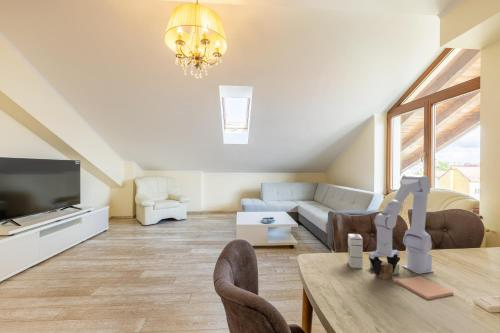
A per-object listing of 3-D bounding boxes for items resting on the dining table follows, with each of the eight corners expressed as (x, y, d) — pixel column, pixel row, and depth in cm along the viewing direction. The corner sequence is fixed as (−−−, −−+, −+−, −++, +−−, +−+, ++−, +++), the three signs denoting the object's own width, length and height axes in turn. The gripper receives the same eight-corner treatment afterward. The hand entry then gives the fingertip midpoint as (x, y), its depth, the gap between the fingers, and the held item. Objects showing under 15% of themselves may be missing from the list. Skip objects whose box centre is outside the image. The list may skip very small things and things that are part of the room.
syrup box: (363, 268, 109) (363, 237, 109) (349, 267, 111) (350, 236, 111) (359, 263, 115) (360, 234, 115) (347, 262, 116) (347, 233, 116)
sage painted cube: (391, 269, 109) (391, 261, 109) (399, 273, 105) (399, 264, 105) (384, 270, 108) (384, 262, 108) (391, 274, 104) (392, 265, 104)
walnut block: (383, 274, 104) (383, 260, 104) (392, 278, 100) (392, 264, 100) (375, 275, 103) (375, 261, 103) (384, 280, 99) (384, 266, 99)
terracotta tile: (419, 278, 101) (419, 276, 101) (453, 294, 88) (453, 292, 88) (395, 282, 97) (395, 279, 97) (427, 299, 84) (427, 297, 84)
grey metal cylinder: (374, 267, 111) (375, 258, 111) (381, 271, 107) (382, 262, 107) (368, 268, 110) (368, 259, 110) (374, 272, 106) (374, 263, 106)
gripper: (378, 246, 96) (377, 279, 96) (406, 243, 100) (405, 275, 100) (365, 240, 102) (364, 272, 102) (391, 238, 106) (391, 268, 106)
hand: (383, 273), depth 101 cm, fingers open, 7 cm apart
